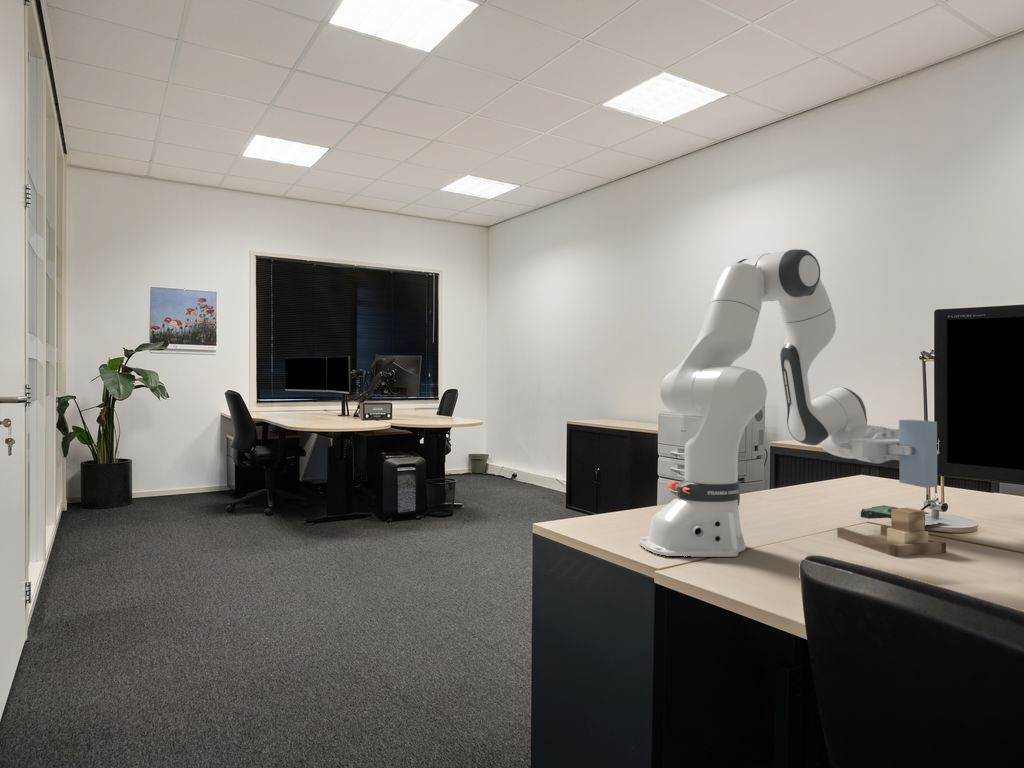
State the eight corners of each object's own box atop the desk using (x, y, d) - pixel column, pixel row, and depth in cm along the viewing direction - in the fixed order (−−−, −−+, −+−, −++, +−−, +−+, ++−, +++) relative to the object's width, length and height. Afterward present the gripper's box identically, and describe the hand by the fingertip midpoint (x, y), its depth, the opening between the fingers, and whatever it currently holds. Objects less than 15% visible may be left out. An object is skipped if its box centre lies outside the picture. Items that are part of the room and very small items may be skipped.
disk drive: (941, 526, 160) (883, 514, 173) (941, 515, 160) (883, 504, 173) (917, 530, 156) (859, 518, 169) (917, 519, 155) (859, 508, 169)
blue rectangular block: (925, 487, 137) (924, 422, 136) (899, 482, 143) (899, 419, 143) (937, 486, 137) (936, 421, 137) (911, 481, 144) (910, 419, 144)
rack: (893, 563, 125) (893, 546, 125) (837, 543, 141) (837, 527, 141) (946, 560, 127) (946, 542, 127) (884, 540, 143) (884, 525, 143)
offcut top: (908, 532, 128) (908, 512, 128) (891, 528, 131) (891, 509, 131) (924, 530, 129) (924, 510, 129) (906, 526, 133) (906, 507, 133)
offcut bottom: (904, 553, 127) (904, 533, 127) (887, 547, 132) (887, 528, 132) (928, 551, 128) (928, 531, 128) (910, 546, 133) (910, 526, 133)
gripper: (835, 432, 151) (879, 437, 137) (909, 429, 155) (960, 434, 141) (835, 459, 151) (879, 467, 137) (910, 455, 155) (960, 463, 141)
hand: (921, 450), depth 139 cm, fingers closed on blue rectangular block, 3 cm apart
